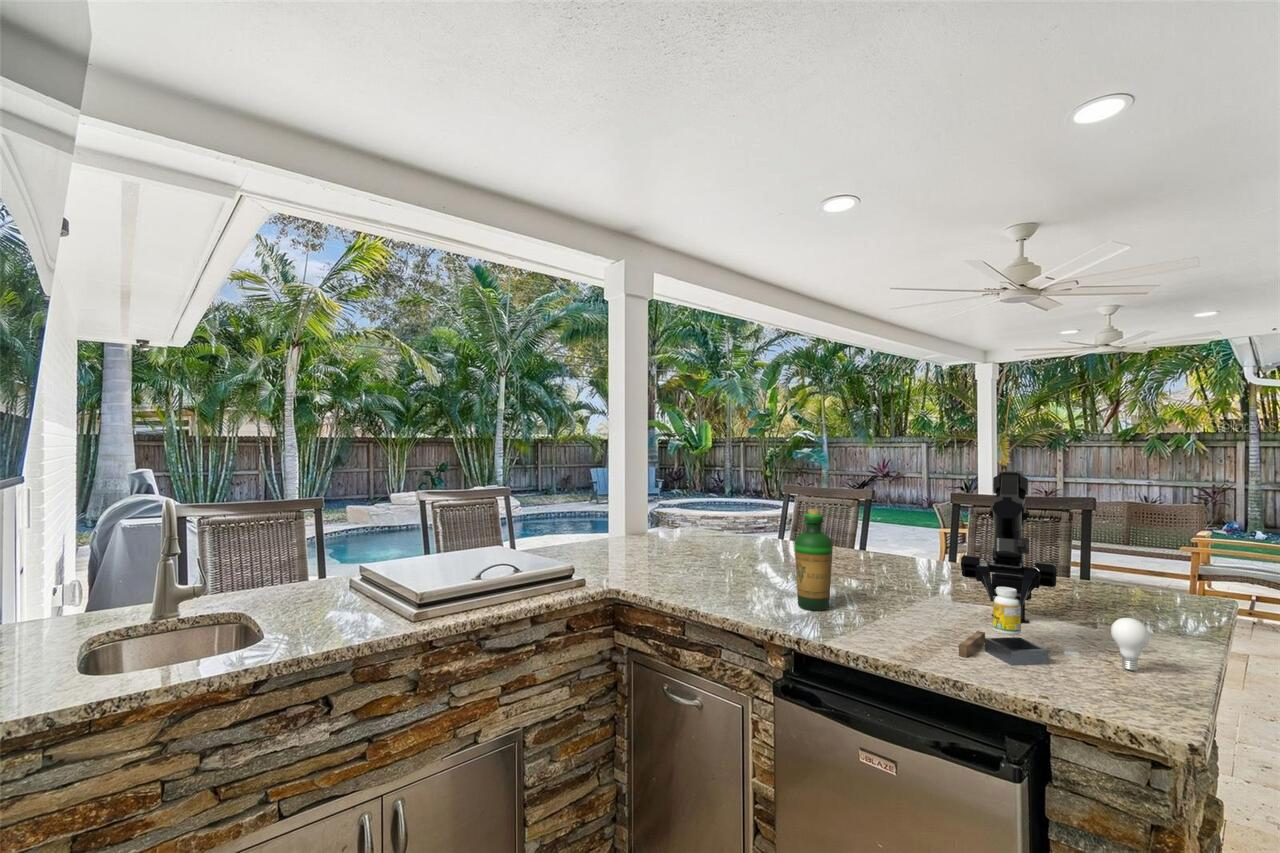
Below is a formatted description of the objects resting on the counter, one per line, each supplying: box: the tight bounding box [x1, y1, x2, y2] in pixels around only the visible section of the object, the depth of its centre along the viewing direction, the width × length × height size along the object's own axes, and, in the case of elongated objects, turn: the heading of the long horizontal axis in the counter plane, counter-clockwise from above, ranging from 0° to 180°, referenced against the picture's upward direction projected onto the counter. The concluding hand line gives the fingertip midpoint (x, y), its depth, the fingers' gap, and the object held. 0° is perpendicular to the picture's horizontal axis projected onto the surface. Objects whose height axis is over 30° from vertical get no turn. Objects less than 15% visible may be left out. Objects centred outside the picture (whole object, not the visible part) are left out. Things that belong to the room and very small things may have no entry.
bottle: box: [794, 508, 834, 612], centre depth 175 cm, size 11×11×28 cm
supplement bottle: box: [992, 587, 1022, 636], centre depth 137 cm, size 5×5×10 cm
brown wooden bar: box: [958, 630, 986, 659], centre depth 141 cm, size 14×2×2 cm, turn 136°
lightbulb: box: [1110, 617, 1150, 672], centre depth 129 cm, size 6×6×11 cm
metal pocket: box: [984, 636, 1050, 666], centre depth 136 cm, size 9×9×3 cm
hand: (1006, 602), depth 136 cm, fingers closed on supplement bottle, 5 cm apart
